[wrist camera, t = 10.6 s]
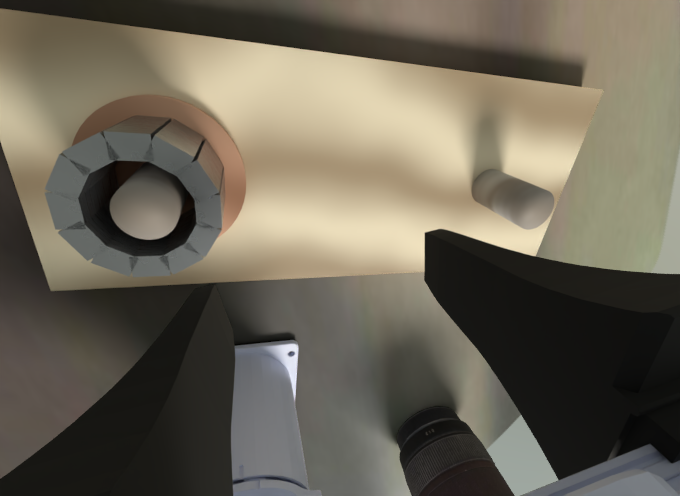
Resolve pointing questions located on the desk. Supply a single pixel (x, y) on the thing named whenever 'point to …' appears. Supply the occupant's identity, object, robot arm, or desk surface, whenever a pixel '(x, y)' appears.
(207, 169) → the collar
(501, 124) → the stand board
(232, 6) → the desk surface
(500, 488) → the camera lens
